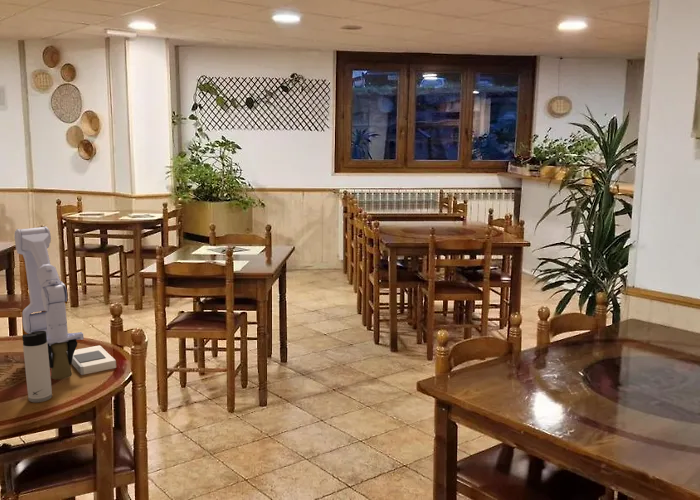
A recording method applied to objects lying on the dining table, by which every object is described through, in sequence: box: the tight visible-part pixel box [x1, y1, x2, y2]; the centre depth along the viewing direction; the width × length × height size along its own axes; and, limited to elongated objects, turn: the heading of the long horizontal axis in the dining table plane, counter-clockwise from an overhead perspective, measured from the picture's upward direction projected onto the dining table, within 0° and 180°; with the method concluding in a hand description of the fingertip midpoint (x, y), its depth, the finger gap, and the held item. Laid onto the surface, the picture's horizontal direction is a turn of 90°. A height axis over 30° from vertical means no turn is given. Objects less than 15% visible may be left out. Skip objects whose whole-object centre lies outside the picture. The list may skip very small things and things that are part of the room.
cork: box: [50, 342, 73, 380], centre depth 213 cm, size 6×6×11 cm
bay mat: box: [74, 350, 106, 363], centre depth 223 cm, size 8×8×1 cm
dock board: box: [71, 345, 117, 376], centre depth 225 cm, size 18×11×3 cm, turn 35°
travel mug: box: [22, 331, 53, 403], centre depth 195 cm, size 6×7×20 cm
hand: (60, 365), depth 213 cm, fingers closed on cork, 5 cm apart
